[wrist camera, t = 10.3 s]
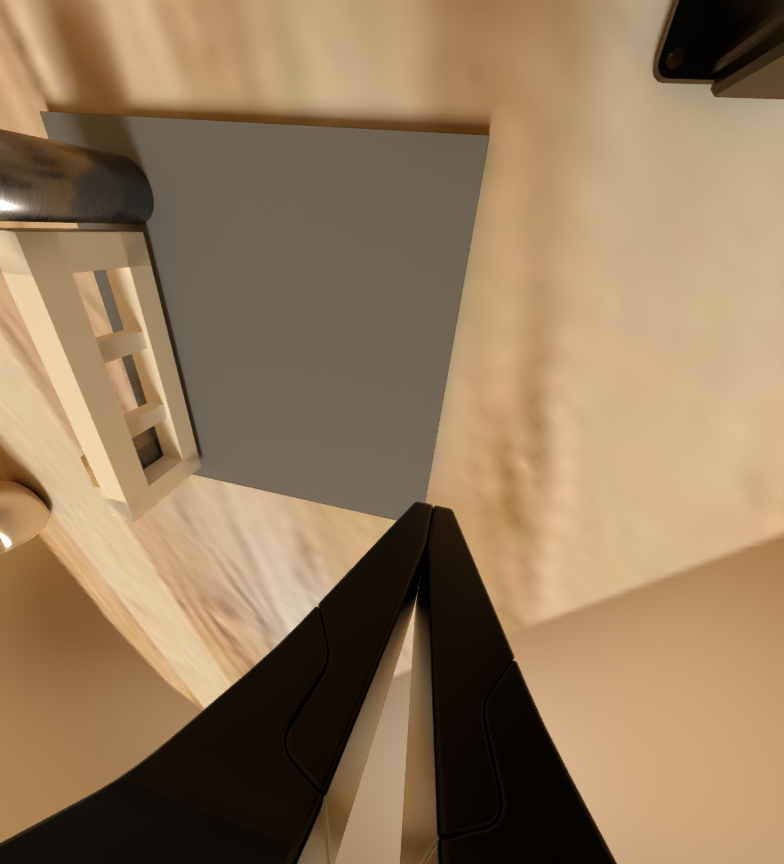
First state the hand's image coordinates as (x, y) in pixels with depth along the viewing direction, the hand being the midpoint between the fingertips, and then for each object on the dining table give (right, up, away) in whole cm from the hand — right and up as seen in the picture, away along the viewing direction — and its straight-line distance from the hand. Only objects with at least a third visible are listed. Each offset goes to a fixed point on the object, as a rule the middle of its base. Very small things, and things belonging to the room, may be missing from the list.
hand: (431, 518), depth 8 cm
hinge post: (-15, +15, +11) cm, 23 cm away
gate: (-16, +6, +15) cm, 22 cm away
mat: (-8, +7, +14) cm, 17 cm away
